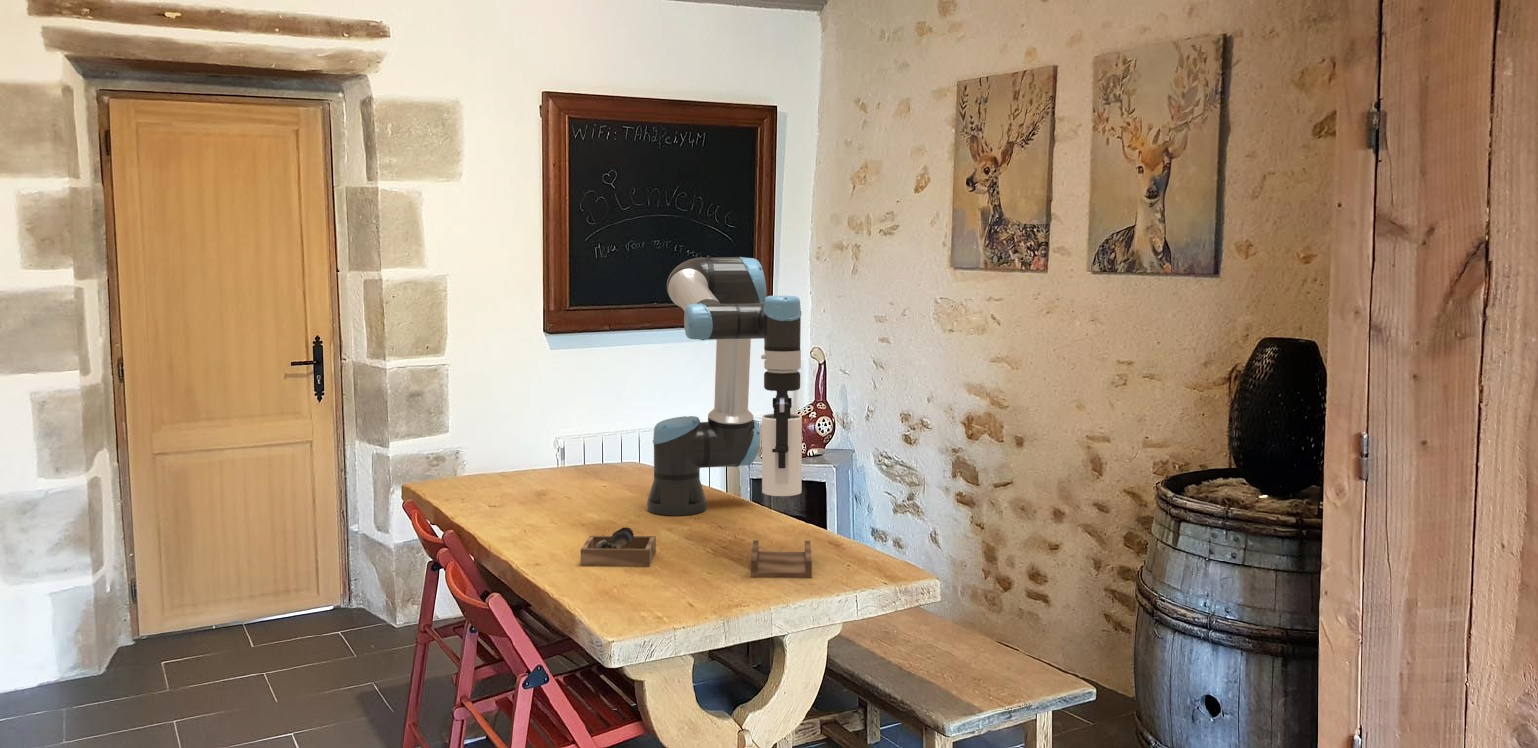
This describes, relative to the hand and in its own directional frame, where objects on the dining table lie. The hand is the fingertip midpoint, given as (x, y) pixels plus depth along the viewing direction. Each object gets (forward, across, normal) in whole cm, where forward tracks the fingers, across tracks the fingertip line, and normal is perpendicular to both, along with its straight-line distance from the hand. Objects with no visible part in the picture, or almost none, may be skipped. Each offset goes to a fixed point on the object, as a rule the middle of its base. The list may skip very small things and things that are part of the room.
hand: (781, 478), depth 238 cm
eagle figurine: (+19, -5, -36) cm, 41 cm away
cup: (+3, 0, 0) cm, 3 cm away
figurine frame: (+19, -5, -35) cm, 40 cm away
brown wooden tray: (+19, 0, 0) cm, 19 cm away
